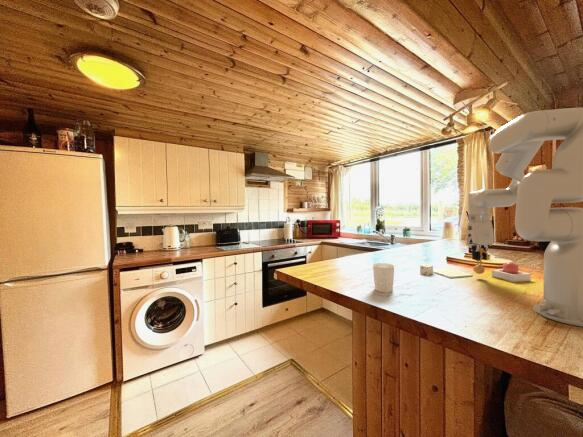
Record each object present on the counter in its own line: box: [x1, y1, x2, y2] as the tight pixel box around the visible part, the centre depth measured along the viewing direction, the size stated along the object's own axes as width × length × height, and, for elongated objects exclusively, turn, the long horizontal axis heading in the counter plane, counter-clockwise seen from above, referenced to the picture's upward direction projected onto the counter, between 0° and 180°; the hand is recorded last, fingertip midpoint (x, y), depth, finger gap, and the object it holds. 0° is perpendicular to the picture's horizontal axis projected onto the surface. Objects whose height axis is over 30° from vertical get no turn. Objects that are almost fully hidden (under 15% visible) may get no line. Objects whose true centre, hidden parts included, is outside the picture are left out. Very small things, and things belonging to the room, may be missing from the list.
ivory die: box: [419, 264, 434, 276], centre depth 116 cm, size 4×4×4 cm
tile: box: [433, 268, 474, 279], centre depth 114 cm, size 12×12×1 cm
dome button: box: [502, 261, 519, 274], centre depth 104 cm, size 5×5×5 cm
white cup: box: [372, 262, 395, 294], centre depth 94 cm, size 8×8×10 cm
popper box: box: [491, 268, 532, 283], centre depth 104 cm, size 9×9×3 cm
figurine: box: [470, 247, 489, 275], centre depth 105 cm, size 8×6×12 cm
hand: (479, 259), depth 105 cm, fingers closed on figurine, 2 cm apart
